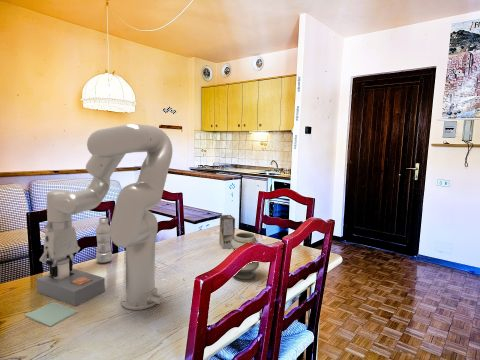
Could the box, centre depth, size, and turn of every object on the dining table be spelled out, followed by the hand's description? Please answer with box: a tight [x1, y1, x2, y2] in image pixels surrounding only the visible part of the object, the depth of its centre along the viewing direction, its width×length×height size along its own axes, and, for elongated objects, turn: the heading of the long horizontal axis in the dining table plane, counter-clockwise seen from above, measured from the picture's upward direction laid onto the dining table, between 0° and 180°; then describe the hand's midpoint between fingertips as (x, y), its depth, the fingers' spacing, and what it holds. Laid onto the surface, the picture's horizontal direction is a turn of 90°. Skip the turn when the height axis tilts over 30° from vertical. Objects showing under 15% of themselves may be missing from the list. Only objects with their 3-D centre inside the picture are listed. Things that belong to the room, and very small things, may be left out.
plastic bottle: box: [95, 217, 113, 264], centre depth 137 cm, size 6×7×20 cm
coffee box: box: [218, 214, 236, 250], centre depth 165 cm, size 9×6×16 cm
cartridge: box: [54, 256, 69, 280], centre depth 112 cm, size 5×5×11 cm
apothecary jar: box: [231, 231, 260, 282], centre depth 128 cm, size 12×12×18 cm
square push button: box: [72, 277, 91, 286], centre depth 108 cm, size 4×4×6 cm
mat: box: [24, 301, 79, 328], centre depth 96 cm, size 12×9×1 cm
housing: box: [35, 267, 106, 307], centre depth 111 cm, size 20×12×5 cm, turn 65°
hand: (61, 272), depth 112 cm, fingers closed on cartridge, 5 cm apart
